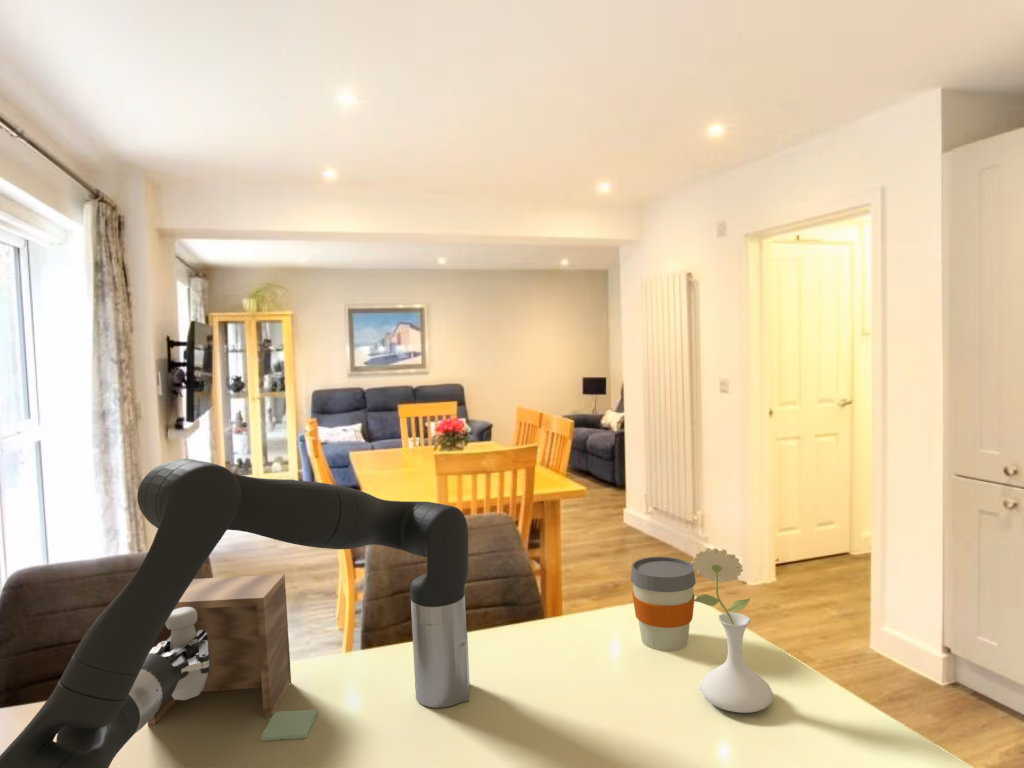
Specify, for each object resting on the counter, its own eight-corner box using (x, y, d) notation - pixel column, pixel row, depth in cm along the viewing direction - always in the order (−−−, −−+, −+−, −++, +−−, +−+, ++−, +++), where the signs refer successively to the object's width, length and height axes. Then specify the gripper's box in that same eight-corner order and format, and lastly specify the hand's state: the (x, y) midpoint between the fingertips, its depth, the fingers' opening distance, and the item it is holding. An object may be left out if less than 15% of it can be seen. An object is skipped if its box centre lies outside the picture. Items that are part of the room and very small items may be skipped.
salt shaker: (191, 704, 95) (183, 619, 94) (157, 702, 96) (149, 617, 95) (217, 684, 101) (209, 602, 100) (185, 682, 102) (177, 602, 101)
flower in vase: (784, 697, 106) (781, 548, 105) (756, 729, 98) (753, 568, 96) (709, 672, 115) (706, 535, 114) (678, 700, 107) (674, 551, 105)
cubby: (291, 682, 117) (284, 574, 116) (271, 717, 106) (263, 597, 105) (179, 689, 117) (171, 580, 116) (147, 724, 106) (138, 604, 105)
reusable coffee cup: (708, 637, 129) (706, 563, 128) (678, 662, 119) (676, 582, 118) (651, 621, 137) (649, 552, 136) (620, 643, 128) (618, 569, 127)
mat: (317, 712, 107) (317, 709, 107) (306, 738, 100) (305, 734, 100) (275, 715, 107) (275, 711, 107) (260, 740, 100) (260, 737, 100)
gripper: (183, 664, 84) (235, 609, 101) (73, 672, 83) (144, 616, 100) (189, 720, 84) (239, 656, 101) (79, 728, 84) (148, 663, 101)
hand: (191, 636), depth 101 cm, fingers closed on salt shaker, 3 cm apart
